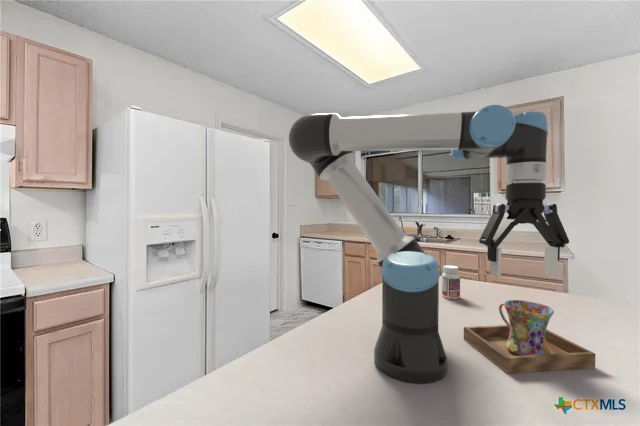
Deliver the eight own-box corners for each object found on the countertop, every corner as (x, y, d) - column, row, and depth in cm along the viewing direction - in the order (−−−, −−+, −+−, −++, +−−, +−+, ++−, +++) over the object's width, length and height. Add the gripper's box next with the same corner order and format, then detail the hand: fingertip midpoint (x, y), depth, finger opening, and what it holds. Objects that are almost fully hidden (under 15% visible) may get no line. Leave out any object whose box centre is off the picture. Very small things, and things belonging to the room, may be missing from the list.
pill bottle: (462, 297, 111) (462, 266, 110) (456, 300, 106) (456, 269, 106) (446, 293, 115) (446, 264, 115) (439, 297, 111) (439, 266, 110)
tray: (507, 373, 61) (507, 358, 61) (463, 339, 76) (463, 327, 76) (595, 368, 62) (595, 353, 62) (535, 335, 78) (535, 323, 78)
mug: (563, 359, 65) (564, 311, 65) (531, 366, 62) (532, 316, 62) (513, 336, 76) (514, 295, 76) (484, 341, 74) (484, 298, 73)
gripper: (484, 181, 63) (482, 280, 64) (591, 182, 66) (588, 277, 66) (464, 183, 71) (462, 272, 72) (561, 184, 73) (558, 270, 74)
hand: (523, 275), depth 69 cm, fingers open, 13 cm apart
